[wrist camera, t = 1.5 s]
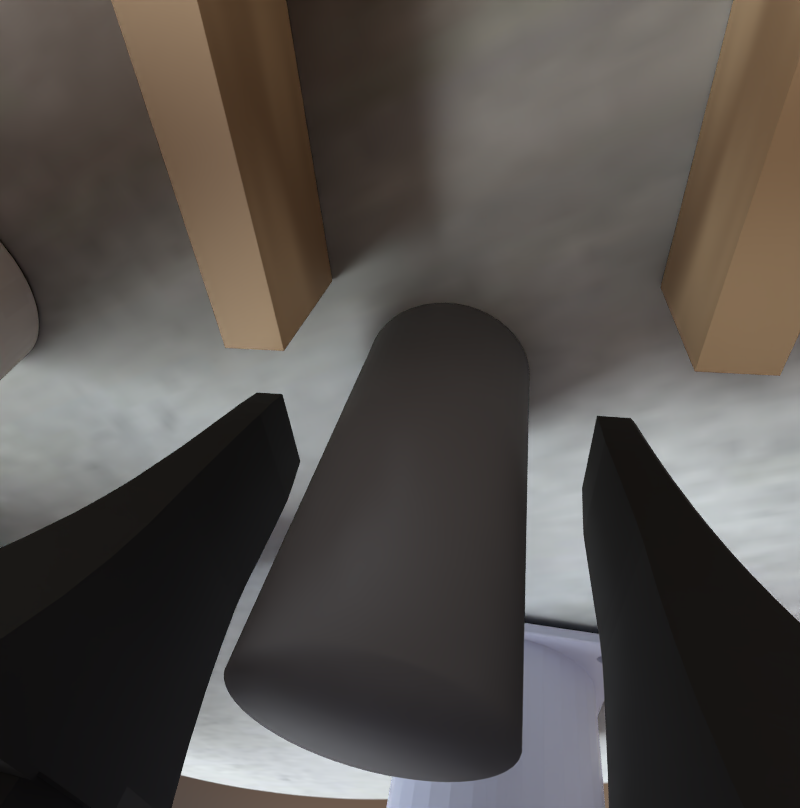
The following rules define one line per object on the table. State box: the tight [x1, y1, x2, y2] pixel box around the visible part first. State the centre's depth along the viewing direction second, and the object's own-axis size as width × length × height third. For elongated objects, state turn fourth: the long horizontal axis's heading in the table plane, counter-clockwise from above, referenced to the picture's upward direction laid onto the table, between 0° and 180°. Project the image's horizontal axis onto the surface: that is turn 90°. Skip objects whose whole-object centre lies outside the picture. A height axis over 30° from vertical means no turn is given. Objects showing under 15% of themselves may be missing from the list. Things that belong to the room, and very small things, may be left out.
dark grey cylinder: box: [224, 303, 529, 782], centre depth 10 cm, size 4×4×8 cm
